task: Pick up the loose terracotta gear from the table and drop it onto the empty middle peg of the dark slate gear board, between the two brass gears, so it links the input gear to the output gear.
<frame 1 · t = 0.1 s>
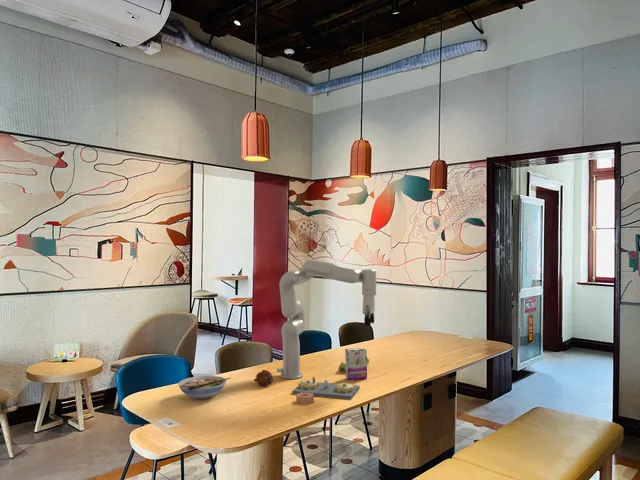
hand: (369, 324, 247), 31 cm above the table, tool pointing down, fingers open, 9 cm apart
plastic component: (355, 370, 274), on the table
ramen bowl: (202, 397, 223), on the table
gear board: (326, 391, 232), on the table
candy bar box: (356, 379, 255), on the table
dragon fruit: (263, 385, 243), on the table
idler gear: (305, 401, 216), on the table
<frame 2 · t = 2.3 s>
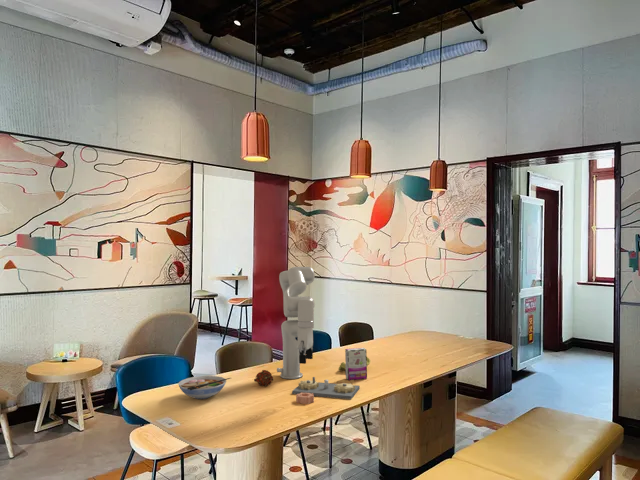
hand: (306, 361, 217), 19 cm above the table, tool pointing down, fingers open, 9 cm apart
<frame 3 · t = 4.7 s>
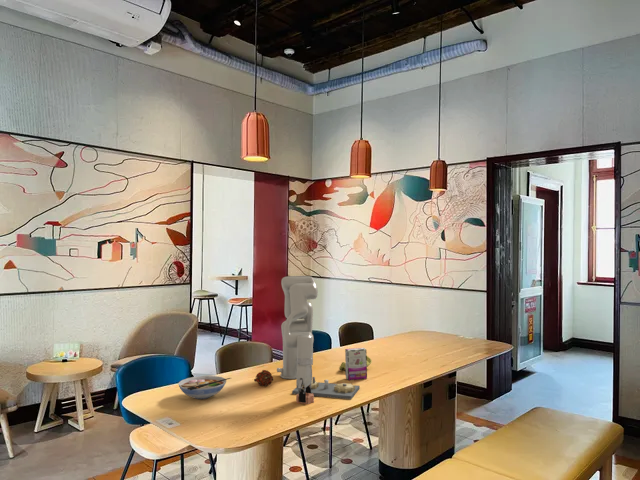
hand: (305, 399, 216), 1 cm above the table, tool pointing down, fingers closed on idler gear, 6 cm apart
idler gear: (305, 401, 216), on the table, touching gripper
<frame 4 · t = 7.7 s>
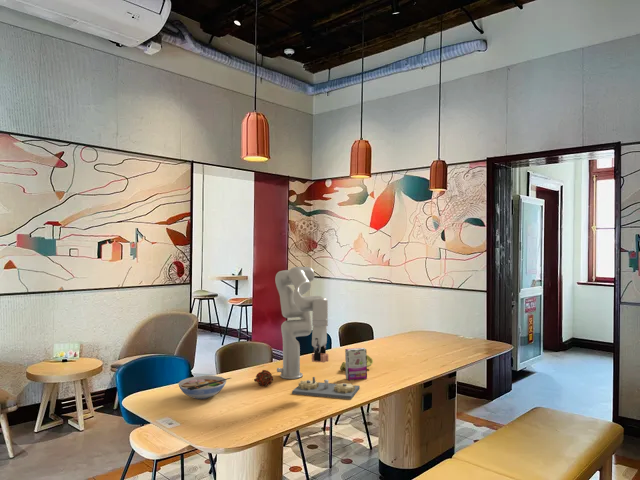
hand: (320, 358, 228), 17 cm above the table, tool pointing down, fingers closed on idler gear, 6 cm apart
idler gear: (320, 360, 228), point 16 cm above the table, touching gripper
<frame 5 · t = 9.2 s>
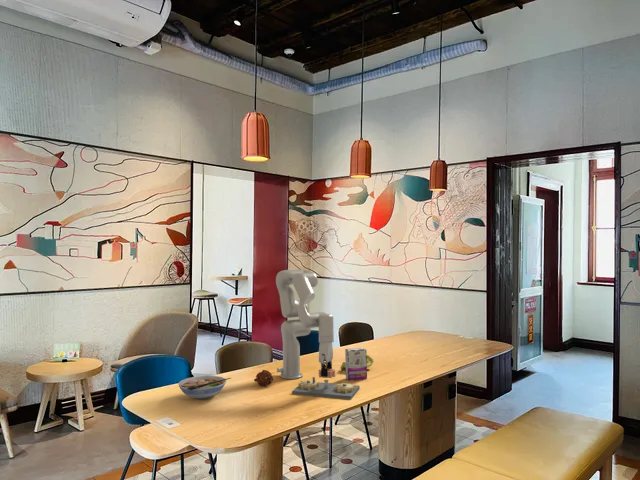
hand: (326, 374, 231), 9 cm above the table, tool pointing down, fingers closed on idler gear, 6 cm apart
idler gear: (326, 376, 231), point 8 cm above the table, touching gripper
when the fingers open (4 cm above the table, at t = 10.8 s): idler gear drops 1 cm, resting on gear board.
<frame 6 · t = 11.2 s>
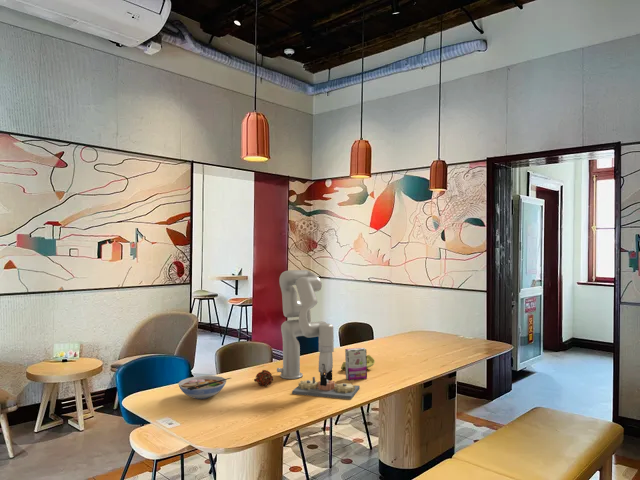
hand: (326, 382, 232), 4 cm above the table, tool pointing down, fingers open, 9 cm apart
idler gear: (326, 388, 232), point 1 cm above the table, touching gear board
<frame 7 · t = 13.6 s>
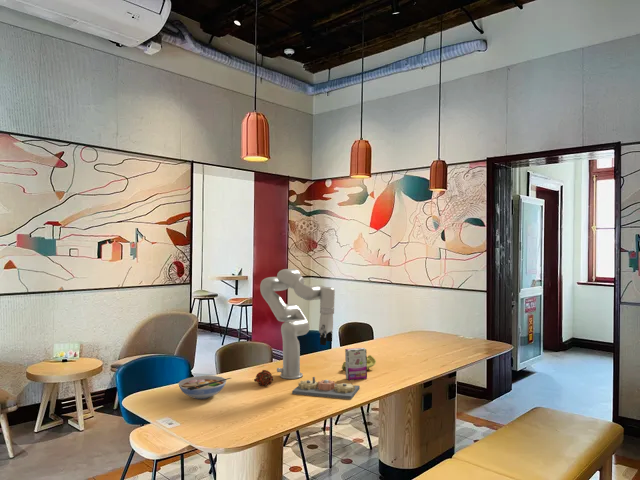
hand: (326, 343, 243), 22 cm above the table, tool pointing down, fingers open, 9 cm apart
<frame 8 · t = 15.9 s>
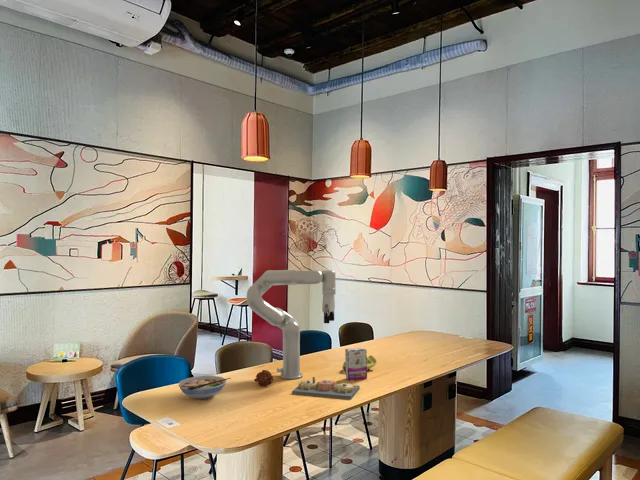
hand: (329, 321, 262), 30 cm above the table, tool pointing down, fingers open, 9 cm apart
at the end: idler gear 0.1 cm from the gear board (horizontally); idler gear point 1.5 cm above the table; the gripper is holding nothing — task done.
